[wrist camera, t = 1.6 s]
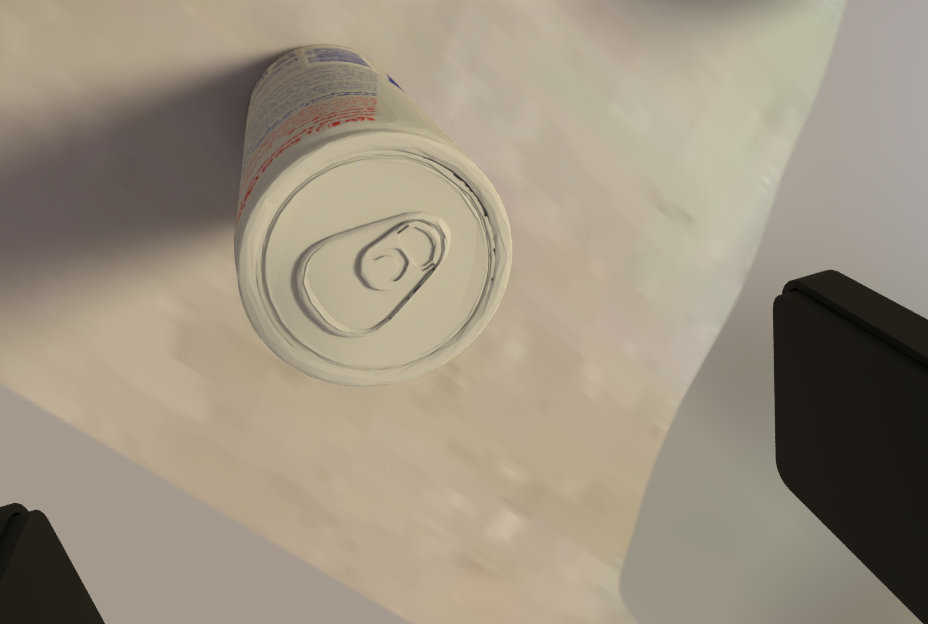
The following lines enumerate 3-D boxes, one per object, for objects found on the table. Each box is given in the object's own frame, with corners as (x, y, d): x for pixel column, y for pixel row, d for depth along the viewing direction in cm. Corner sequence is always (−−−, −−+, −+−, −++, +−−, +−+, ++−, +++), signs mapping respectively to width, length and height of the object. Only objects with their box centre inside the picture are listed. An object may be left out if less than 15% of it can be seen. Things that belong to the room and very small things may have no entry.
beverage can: (227, 168, 29) (194, 357, 15) (275, 16, 27) (285, 80, 14) (371, 217, 31) (453, 422, 17) (425, 78, 29) (561, 187, 16)
